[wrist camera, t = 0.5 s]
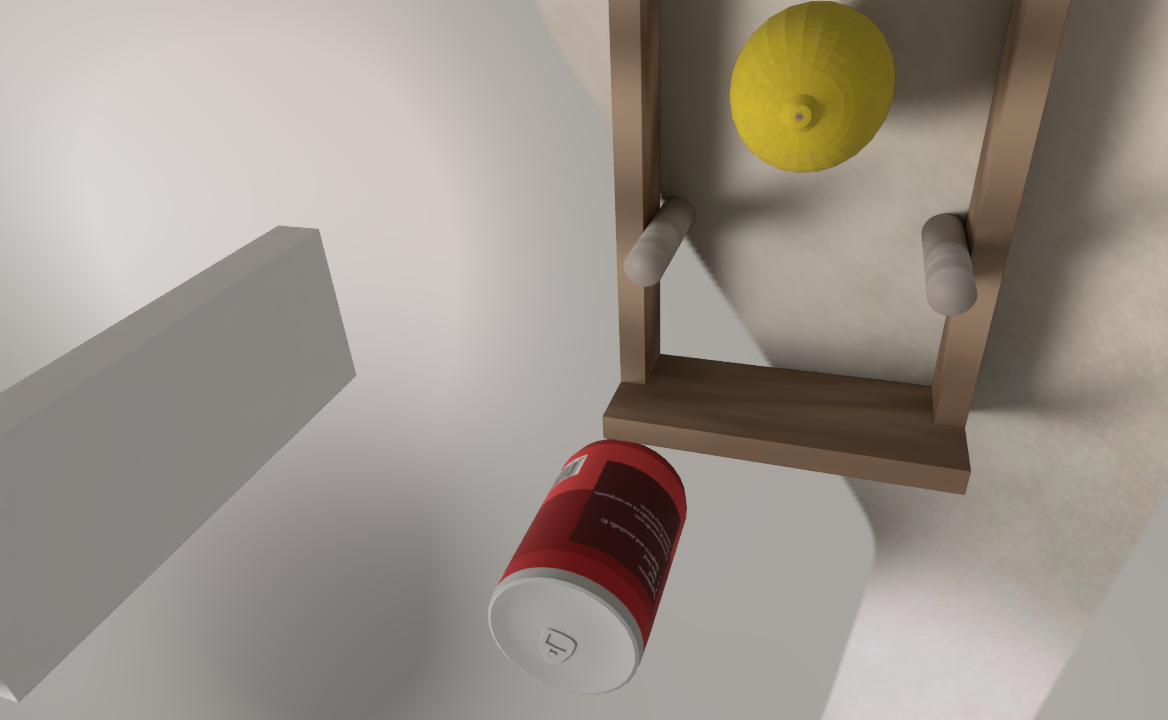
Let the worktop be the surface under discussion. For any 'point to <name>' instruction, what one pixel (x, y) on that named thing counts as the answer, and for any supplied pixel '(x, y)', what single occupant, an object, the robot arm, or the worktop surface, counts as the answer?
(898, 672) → the worktop surface
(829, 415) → the lane
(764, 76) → the lemon
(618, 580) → the canned food
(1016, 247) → the worktop surface
